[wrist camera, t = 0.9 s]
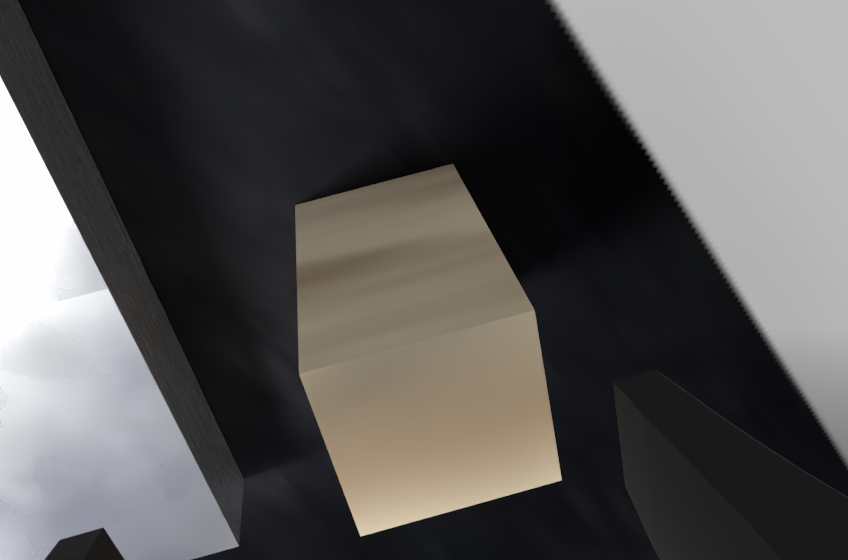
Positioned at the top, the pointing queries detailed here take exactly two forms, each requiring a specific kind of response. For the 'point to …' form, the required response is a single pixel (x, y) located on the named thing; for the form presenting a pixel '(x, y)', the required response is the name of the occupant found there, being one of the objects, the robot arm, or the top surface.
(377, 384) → the peg
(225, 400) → the top surface
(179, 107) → the top surface
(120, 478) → the board with rectangular recess
